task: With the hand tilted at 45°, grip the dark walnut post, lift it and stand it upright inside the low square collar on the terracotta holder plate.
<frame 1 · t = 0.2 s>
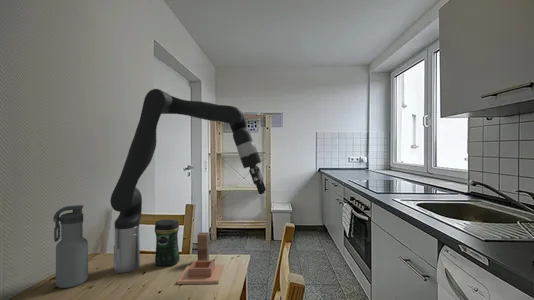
hand: (262, 192, 115), 31 cm above the table, tool tilted 20°, fingers open, 8 cm apart
walnut post: (203, 261, 124), on the table
water bottle: (71, 283, 105), on the table
terracotta holder: (202, 275, 110), on the table
coffee jar: (167, 263, 123), on the table
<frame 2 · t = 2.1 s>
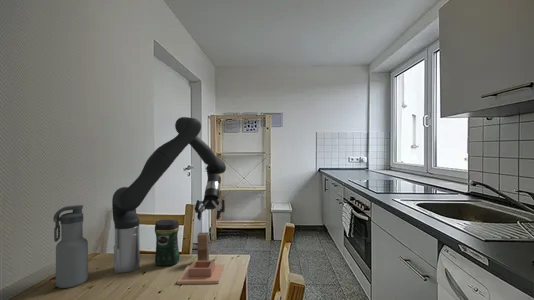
hand: (208, 219, 136), 16 cm above the table, tool tilted 45°, fingers open, 8 cm apart
nothing on the table moved.
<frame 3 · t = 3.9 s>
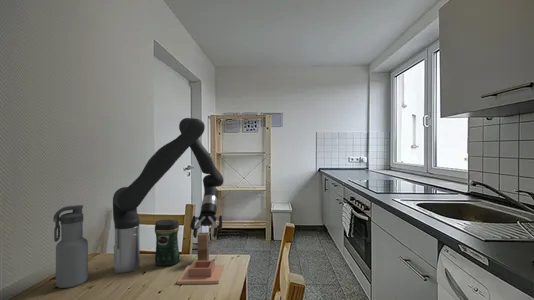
hand: (204, 237, 128), 10 cm above the table, tool tilted 45°, fingers open, 8 cm apart
nothing on the table moved.
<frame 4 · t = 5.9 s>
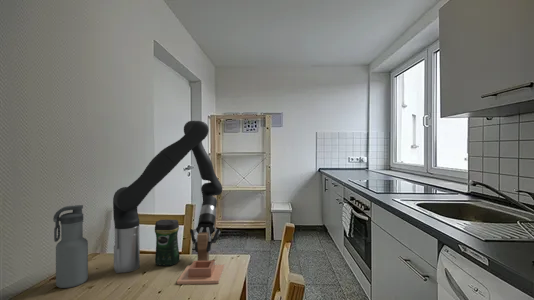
hand: (202, 251, 122), 5 cm above the table, tool tilted 45°, fingers closed on walnut post, 4 cm apart
walnut post: (203, 261, 124), on the table, touching gripper
everything else where it was.
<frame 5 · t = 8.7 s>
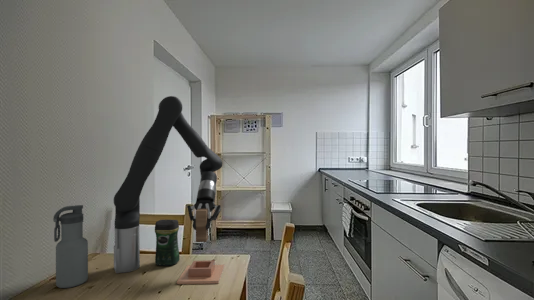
hand: (201, 228, 110), 18 cm above the table, tool tilted 45°, fingers closed on walnut post, 4 cm apart
walnut post: (202, 240, 112), point 13 cm above the table, touching gripper
everything else where it was.
when the fingers open (7 cm above the table, at t = 11.7 s): walnut post drops 1 cm, resting on terracotta holder.
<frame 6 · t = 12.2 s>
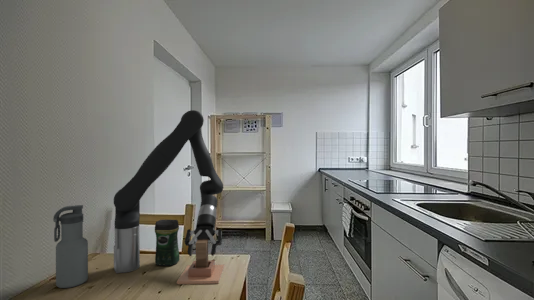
hand: (201, 255, 109), 8 cm above the table, tool tilted 45°, fingers open, 8 cm apart
walnut post: (202, 272, 110), point 1 cm above the table, touching terracotta holder
everything else where it was.
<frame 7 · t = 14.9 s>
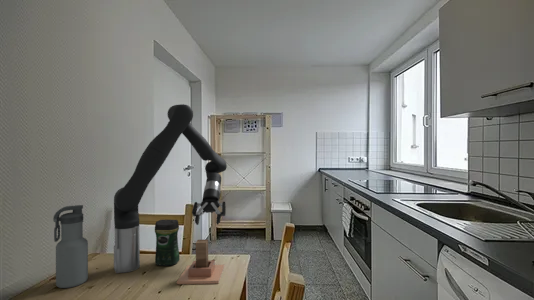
hand: (207, 223, 121), 17 cm above the table, tool tilted 45°, fingers open, 8 cm apart
nothing on the table moved.
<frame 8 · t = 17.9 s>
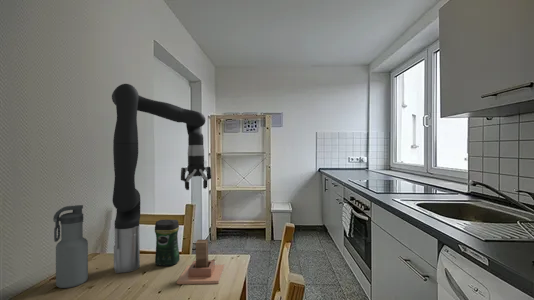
hand: (196, 189, 136), 30 cm above the table, tool pointing down, fingers open, 8 cm apart
nothing on the table moved.
at the end: walnut post 0.1 cm off-centre on the terracotta holder, point 1.0 cm above the terracotta holder's base; walnut post tilted 0°; the gripper is holding nothing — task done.
